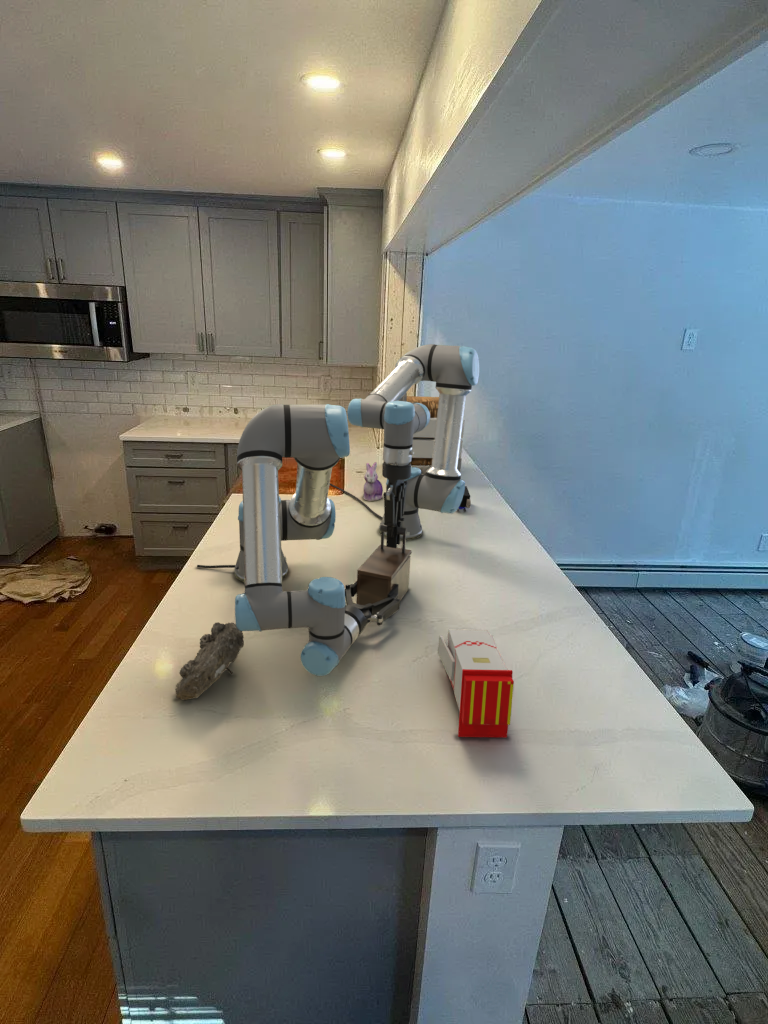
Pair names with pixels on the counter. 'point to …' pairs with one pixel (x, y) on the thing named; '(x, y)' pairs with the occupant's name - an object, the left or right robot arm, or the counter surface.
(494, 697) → the toy
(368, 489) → the figurine
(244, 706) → the counter surface
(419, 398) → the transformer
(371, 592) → the chest
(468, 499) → the figurine character
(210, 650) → the fossil
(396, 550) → the lid
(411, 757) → the counter surface
